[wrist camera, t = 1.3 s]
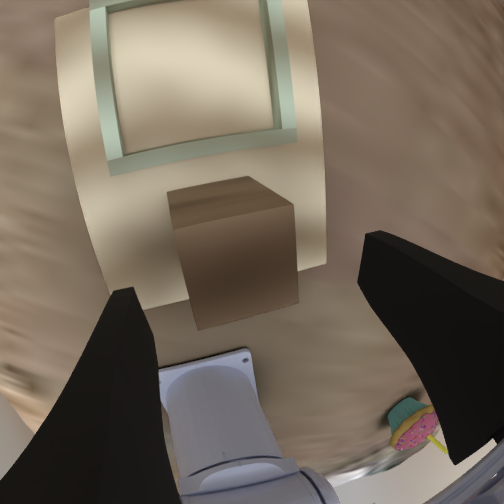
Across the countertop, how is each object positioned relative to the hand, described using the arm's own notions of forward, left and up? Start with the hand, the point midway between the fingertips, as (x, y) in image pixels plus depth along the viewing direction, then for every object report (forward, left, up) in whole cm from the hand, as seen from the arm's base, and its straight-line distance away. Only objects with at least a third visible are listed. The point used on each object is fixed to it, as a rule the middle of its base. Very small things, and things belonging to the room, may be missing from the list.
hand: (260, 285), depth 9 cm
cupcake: (-35, -22, -10) cm, 43 cm away
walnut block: (-1, 0, -9) cm, 9 cm away
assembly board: (+4, 0, -10) cm, 10 cm away
